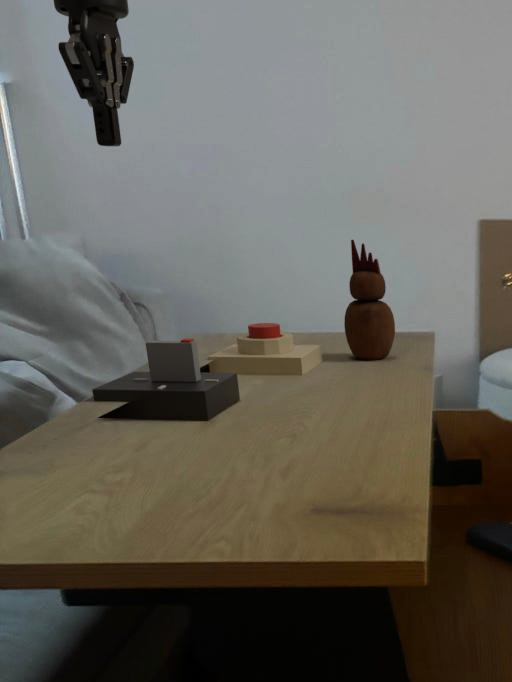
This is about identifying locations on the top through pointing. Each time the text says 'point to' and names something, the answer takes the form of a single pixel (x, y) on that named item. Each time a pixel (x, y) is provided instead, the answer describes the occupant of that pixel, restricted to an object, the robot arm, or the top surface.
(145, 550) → the top surface
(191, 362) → the gray flat block
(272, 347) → the stop box
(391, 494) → the top surface
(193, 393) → the panel
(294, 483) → the top surface
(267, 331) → the stop button
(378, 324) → the wooden figurine
